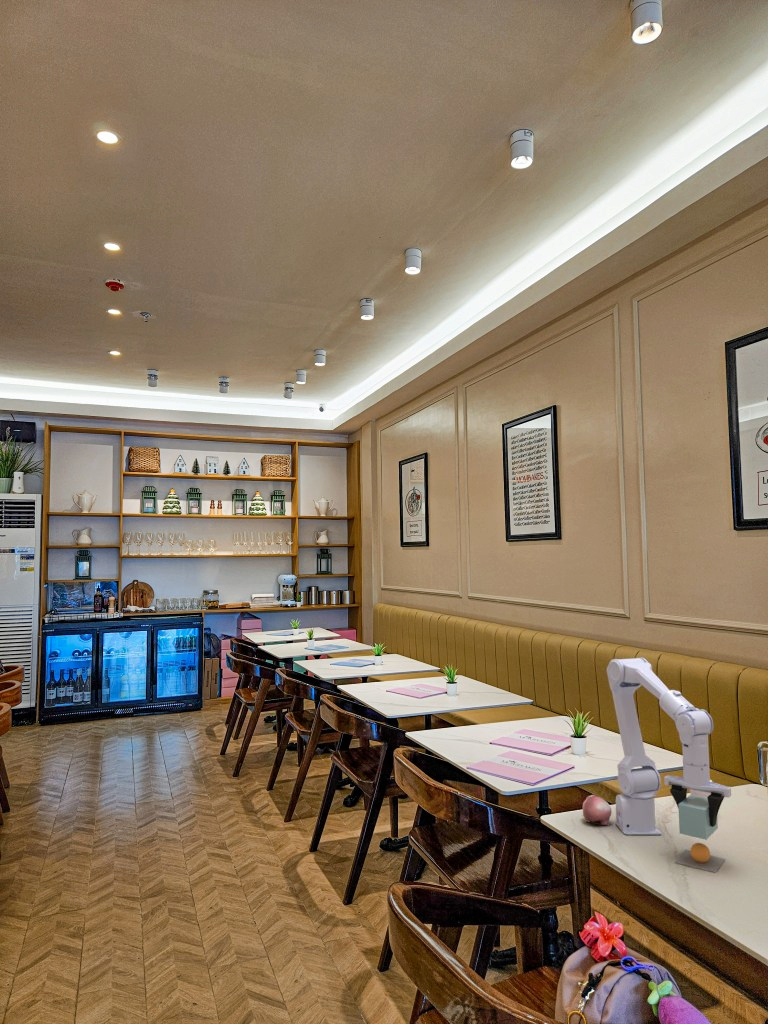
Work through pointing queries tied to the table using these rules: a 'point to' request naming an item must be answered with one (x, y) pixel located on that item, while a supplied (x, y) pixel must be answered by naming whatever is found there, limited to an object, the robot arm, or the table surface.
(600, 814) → the onion
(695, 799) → the light blue upright block
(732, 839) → the table surface
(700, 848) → the ball
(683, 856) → the tape square
